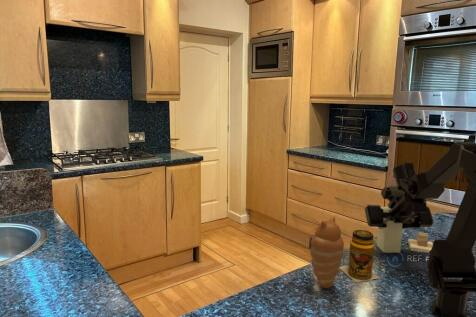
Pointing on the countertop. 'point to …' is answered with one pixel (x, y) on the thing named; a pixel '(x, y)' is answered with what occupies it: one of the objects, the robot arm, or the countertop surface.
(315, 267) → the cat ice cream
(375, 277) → the condiment
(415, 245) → the square plate with knob
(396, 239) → the tan rectangular pillar
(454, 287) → the robot arm
